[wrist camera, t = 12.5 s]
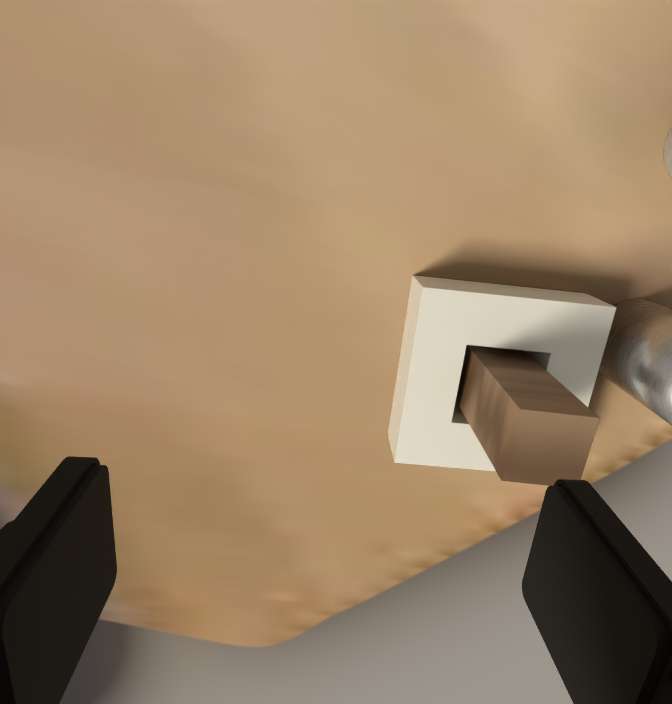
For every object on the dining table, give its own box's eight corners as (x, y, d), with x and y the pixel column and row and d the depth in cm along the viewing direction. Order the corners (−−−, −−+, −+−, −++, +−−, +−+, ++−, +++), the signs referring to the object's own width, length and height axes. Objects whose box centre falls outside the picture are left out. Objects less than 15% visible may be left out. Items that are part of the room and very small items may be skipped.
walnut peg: (460, 336, 37) (520, 409, 25) (515, 343, 37) (600, 418, 25) (449, 389, 38) (501, 480, 26) (502, 395, 38) (577, 488, 27)
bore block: (412, 275, 35) (422, 287, 31) (585, 293, 36) (616, 307, 32) (387, 434, 39) (394, 462, 35) (544, 448, 39) (568, 477, 36)
